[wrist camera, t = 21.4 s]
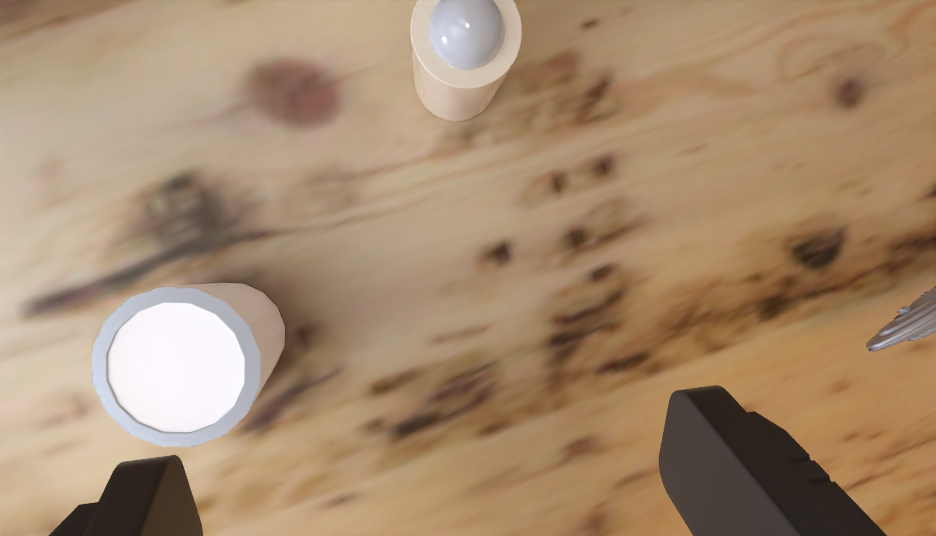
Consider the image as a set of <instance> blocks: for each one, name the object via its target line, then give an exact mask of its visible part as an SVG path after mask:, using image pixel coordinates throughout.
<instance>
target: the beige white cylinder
mask: <svg viewBox="0 0 936 536" xmlns="http://www.w3.org/2000/svg"><path fill="white" fill-rule="evenodd" d="M284 346H285V325H284V322H283V320H282V317H281V315H280V312H279V310H278V307H277V306H276V305H275V304H274V303H273V302H272V301H271V300H270V299H269V298H268V297H267V296H266V295H265V294H264V293H263V292H261V291H259V290H257V289H254V288H252V287H250V286H248V285H245V284H241V283H212V284H198V285H183V286H169V287H159V288H157V289H154V290H151V291H148V292H145V293H143V294H140V295H137V296H134V297H132V298H129V299H128V300H127V301H126V302H125V303H123V304H122V305H121V306H120V307H119V308H118V309H117V310H116V311H115V312H114V313H113V314H112V315H110V316H109V317H108V318H107V319H106V320H105V322H104V324H103V326H102V328H101V331H100V333H99V335H98V338H97V340H96V342H95V344H94V347H93V349H92V382H93V385H94V387H95V389H96V391H97V393H98V396H99V398H100V400H101V402H102V405H103V407H104V409H105V411H106V412H107V413H108V414H109V415H110V416H111V417H112V418H113V419H114V420H115V421H116V422H117V423H118V424H119V425H120V426H122V427H123V428H124V429H125V430H126V431H127V432H128V433H129V434H131V435H133V436H136V437H138V438H141V439H143V440H146V441H148V442H151V443H153V444H156V445H158V446H164V447H195V446H197V445H200V444H203V443H205V442H208V441H211V440H213V439H216V438H219V437H221V436H224V435H225V434H226V433H227V432H228V431H229V430H230V429H232V428H233V427H234V426H235V425H236V424H237V423H238V422H239V421H240V420H241V419H242V418H243V417H245V416H246V415H247V414H248V412H249V410H250V408H251V407H252V405H253V403H254V402H255V400H256V398H257V397H258V395H259V393H260V391H261V390H262V388H263V386H264V385H265V383H266V381H267V379H268V378H269V376H270V374H271V373H272V371H273V369H274V367H275V366H276V364H277V362H278V360H279V357H280V355H281V353H282V351H283V349H284Z"/></svg>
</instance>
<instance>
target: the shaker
mask: <svg viewBox="0 0 936 536" xmlns="http://www.w3.org/2000/svg"><path fill="white" fill-rule="evenodd" d="M410 29H411V47H412V62H413V76H414V86H415V90H416V93H417V96H418V98H419V100H420V101H421V103H422V104H423V106H424V107H425V108H426V109H427V110H428V111H429V112H431V113H432V114H433V115H435V116H437V117H439V118H441V119H444V120H447V121H465V120H468V119H471V118H473V117H475V116H477V115H479V114H480V113H481V112H482V111H484V110H485V109H486V107H487V106H488V105H489V104H490V102H491V100H492V99H493V97H494V95H495V94H496V92H497V90H498V88H499V87H500V85H501V83H502V82H503V80H504V78H505V76H506V75H507V73H508V71H509V70H510V68H511V66H512V65H513V63H514V61H515V59H516V57H517V55H518V52H519V50H520V46H521V41H522V23H521V18H520V14H519V11H518V9H517V6H516V4H515V3H514V1H513V0H418V1H417V3H416V5H415V8H414V10H413V14H412V18H411V26H410Z"/></svg>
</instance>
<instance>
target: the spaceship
mask: <svg viewBox="0 0 936 536" xmlns="http://www.w3.org/2000/svg"><path fill="white" fill-rule="evenodd" d="M898 313H900V314H899V315H898V316H896V317H895V318H894V320H893V321H891V322H890V323H889V324H887V325H886V326H885V327H883V328H882V329H881V330H880V331H879V332H878V334H877V335H875V336H874V337H872V338H871V339H870V340H869V341H868V342H867V344H866V348H869V349H868V350H869V351H872V352H874V351H878V350H881V349H884V348H887V347H890V346H893V345H896V344H899V343H901V342H904V341H906V340H908V341H914V340H917V339H919V338H923V337H926V336H928V335H930V334H932V333H934V332H936V286H935V287H934V288H932V289H931V290H930V291H927V292H924V293H923V294H922V295H921V297H920V298H918V299H917V300H915V301H914V302H913V303H912V304H911V305H910V306H909V307H908V306H905V307H902V308H901V309H900V310H899V311H898Z"/></svg>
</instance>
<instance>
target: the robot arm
mask: <svg viewBox="0 0 936 536" xmlns="http://www.w3.org/2000/svg"><path fill="white" fill-rule="evenodd" d="M809 456H810V455H809V454H808V453H807V452H806V451H805V450H804V449H803V448H802V447H801V446H800V445H799V444H798V443H797V442H796V441H795V440H794V439H793V438H792V437H791V436H790V435H789V434H788V433H787V432H786V431H785V430H784V429H782V428H781V427H779V426H777V425H776V424H774V423H772V422H771V421H769V420H768V419H766V418H764V417H763V416H761V415H760V414H758V413H756V412H755V411H754V412H746V411H745V410H744V409H743V408H742V407H741V406H740V405H739V403H738V402H737V401H736V400H735V399H734V398H733V397H732V396H731V395H730V394H729V393H728V392H727V391H726V390H725V389H724V388H723V387H721V386H717V385H715V386H707V387H699V388H692V389H684V390H677V391H675V392H673V394H672V395H671V397H670V400H669V405H668V411H667V416H666V421H665V427H664V432H663V438H662V443H661V448H660V454H659V469H660V474H661V478H662V482H663V485H664V487H665V489H666V492H667V493H668V495H669V497H670V499H671V500H672V502H673V503H674V505H675V507H676V508H677V510H678V512H679V513H680V515H681V516H682V518H683V520H684V521H685V523H686V525H687V526H688V528H689V529H690V531H691V533H692V534H693V536H887V535H886V534H885V533H884V532H883V531H882V530H881V529H880V528H879V527H878V526H877V525H876V524H875V523H874V522H873V521H872V520H871V519H870V518H869V516H868V515H867V514H866V513H865V512H864V511H863V510H862V509H861V508H860V507H859V506H858V505H857V504H856V503H855V502H854V501H853V500H852V499H851V498H850V497H849V496H848V495H847V494H846V493H845V492H844V491H843V490H842V489H841V487H840V486H839V485H838V484H837V483H836V482H835V481H834V482H831V481H830V478H829V475H828V474H827V473H826V472H825V471H824V470H823V469H822V468H821V467H820V466H819V465H818V464H817V463H816V462H815V461H814V460H813V461H811V460H810V457H809ZM49 536H203V530H202V524H201V521H200V517H199V514H198V511H197V508H196V505H195V502H194V498H193V495H192V492H191V489H190V486H189V483H188V479H187V476H186V473H185V470H184V467H183V464H182V461H181V460H180V458H179V457H178V456H176V455H171V456H164V457H156V458H148V459H141V460H133V461H126V462H122V463H120V464H119V465H117V467H116V468H115V469H114V471H113V473H112V475H111V477H110V479H109V481H108V483H107V485H106V487H105V489H104V492H103V494H102V496H101V498H100V500H99V502H96V503H89V504H82V505H78V506H77V507H76V508H75V510H74V511H73V512H72V513H71V514H70V515H69V516H68V517H67V518H66V519H65V520H64V521H63V522H62V523H61V524H60V525H59V526H58V527H57V528H56V529H55V530H54V531H53V532H52V533H51V534H50V535H49Z"/></svg>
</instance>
